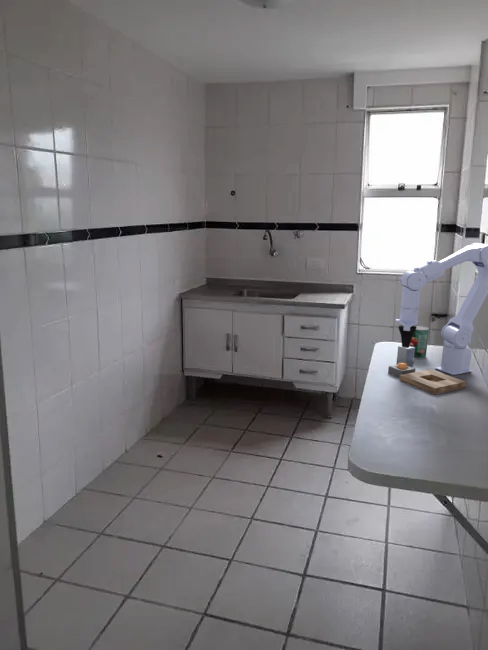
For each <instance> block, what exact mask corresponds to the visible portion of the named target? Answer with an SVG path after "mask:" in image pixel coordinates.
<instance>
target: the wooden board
mask: <svg viewBox="0 0 488 650" xmlns="http://www.w3.org/2000/svg"><path fill="white" fill-rule="evenodd" d="M401 381H402V383H403V384H406V383H407V385H409V386H412V387H414V388H418V389H419V390H421V391H425V392H427V393H430V394H432V395H439V394H443V393H447V392H452V391H457V390H461V389H465V388H466V387H467V386H466V384H467V381H466V380H462V379H459V378H456V377H453V376H450V375H448V374H445V373H442V372H439V371H436V370H434V369H425V370H418V371H415V372H413V373H408V374H402V375H400V378H399V382H401Z"/></svg>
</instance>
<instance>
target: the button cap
mask: <svg viewBox="0 0 488 650" xmlns="http://www.w3.org/2000/svg"><path fill="white" fill-rule="evenodd" d="M406 367H407V364H406V363H398V368H400V369H406Z"/></svg>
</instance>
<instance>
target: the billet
mask: <svg viewBox="0 0 488 650" xmlns="http://www.w3.org/2000/svg"><path fill="white" fill-rule="evenodd" d="M414 353H415V348H414V347H411V346H409V348H403V347H402V345H398V346H397V355H396V362H395V363H396V364H395V365H398V363H406V364H407V366H409V367H412V368H414V360H415V358H414Z"/></svg>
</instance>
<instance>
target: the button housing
mask: <svg viewBox="0 0 488 650" xmlns="http://www.w3.org/2000/svg"><path fill="white" fill-rule="evenodd" d="M413 372H416V368H414V367H409V366H407V367H406V369H400V368H398V365H396V364H393V365H388V371H387V373H388V374H389V375H392V376H394V377H397V378H399V377H400V375H402V374H408V373H413Z"/></svg>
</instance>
